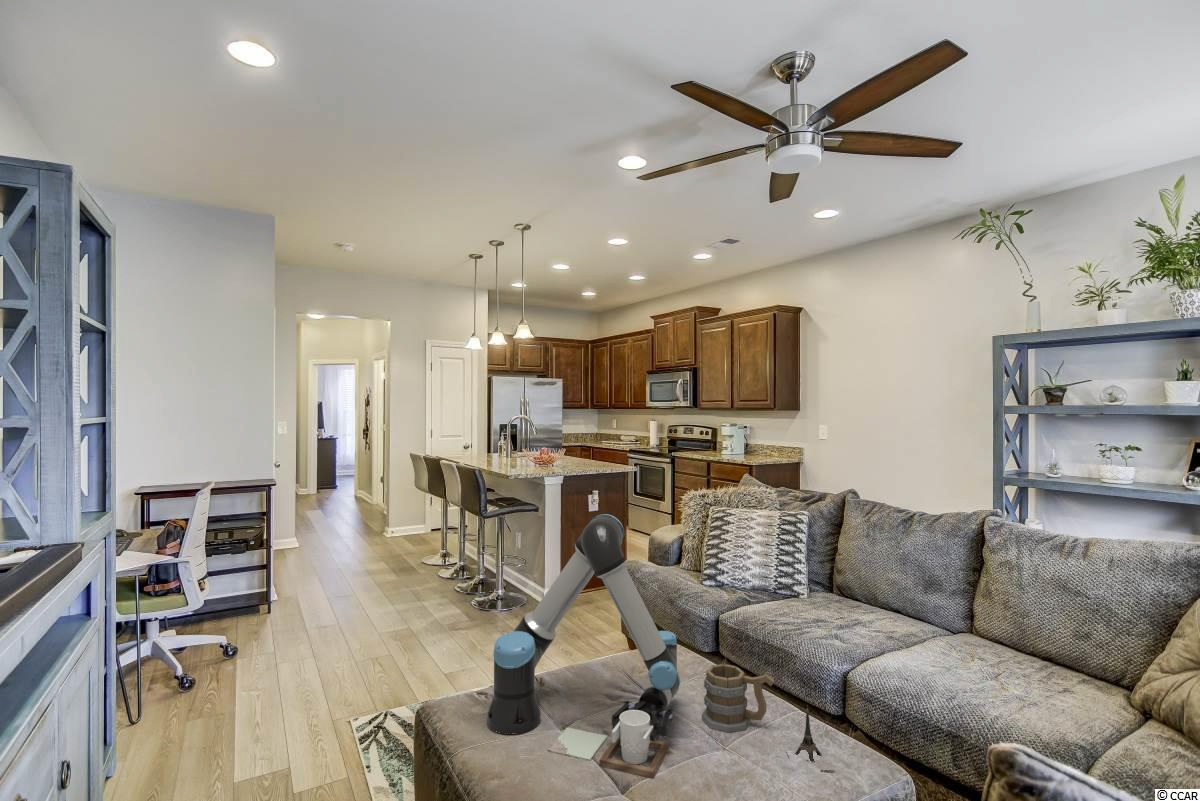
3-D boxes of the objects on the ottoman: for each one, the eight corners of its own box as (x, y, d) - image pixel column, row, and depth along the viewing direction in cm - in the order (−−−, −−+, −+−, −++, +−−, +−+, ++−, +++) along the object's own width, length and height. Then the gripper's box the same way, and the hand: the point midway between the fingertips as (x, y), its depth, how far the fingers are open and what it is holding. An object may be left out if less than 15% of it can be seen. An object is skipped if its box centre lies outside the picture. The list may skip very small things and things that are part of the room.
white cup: (633, 745, 155) (633, 706, 155) (656, 757, 149) (656, 717, 150) (613, 756, 149) (613, 717, 150) (635, 769, 144) (635, 728, 144)
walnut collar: (599, 765, 145) (599, 759, 145) (618, 737, 158) (618, 732, 158) (653, 778, 140) (653, 772, 140) (668, 748, 153) (668, 742, 153)
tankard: (697, 725, 165) (697, 671, 166) (711, 706, 176) (710, 655, 177) (769, 743, 156) (768, 686, 156) (778, 722, 167) (778, 668, 167)
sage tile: (547, 751, 152) (547, 749, 152) (567, 728, 163) (567, 727, 163) (589, 761, 147) (589, 759, 147) (607, 737, 159) (607, 735, 159)
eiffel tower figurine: (778, 740, 158) (778, 690, 159) (816, 741, 158) (816, 691, 158) (794, 773, 143) (793, 718, 144) (836, 774, 143) (835, 719, 143)
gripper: (690, 720, 162) (668, 765, 141) (621, 707, 170) (590, 747, 149) (690, 693, 162) (668, 733, 141) (621, 681, 170) (590, 717, 149)
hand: (628, 740), depth 145 cm, fingers closed on white cup, 7 cm apart
